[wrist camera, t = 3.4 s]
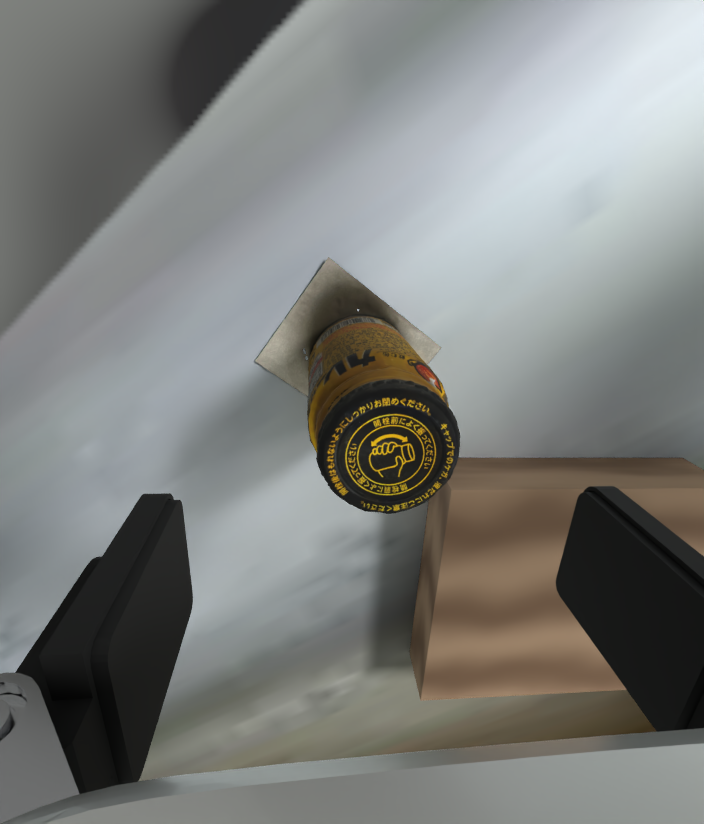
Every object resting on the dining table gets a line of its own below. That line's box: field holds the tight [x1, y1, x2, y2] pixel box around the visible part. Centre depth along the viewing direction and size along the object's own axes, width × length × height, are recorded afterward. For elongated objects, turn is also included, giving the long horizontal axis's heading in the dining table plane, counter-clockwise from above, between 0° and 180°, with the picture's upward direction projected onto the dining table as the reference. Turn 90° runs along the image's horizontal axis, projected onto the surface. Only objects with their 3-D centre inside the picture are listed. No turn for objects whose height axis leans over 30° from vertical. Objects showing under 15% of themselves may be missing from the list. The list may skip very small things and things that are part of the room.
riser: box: [410, 458, 704, 700], centre depth 31 cm, size 18×18×4 cm
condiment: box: [255, 257, 460, 514], centre depth 21 cm, size 7×8×12 cm
